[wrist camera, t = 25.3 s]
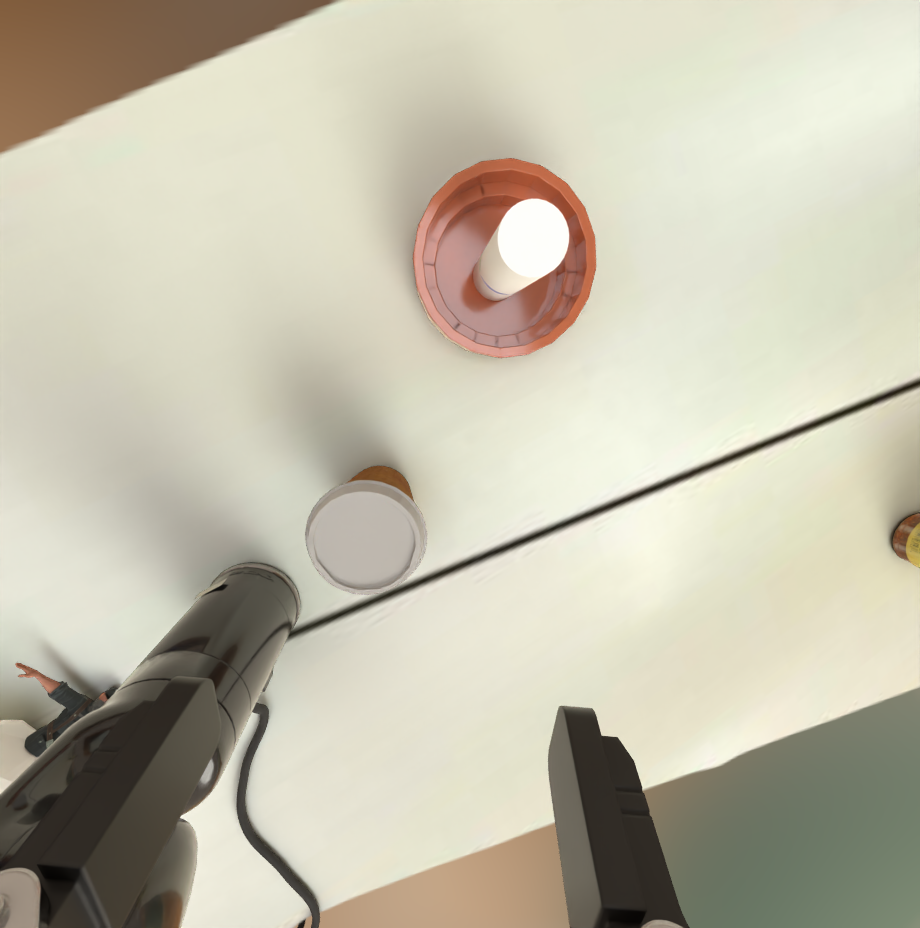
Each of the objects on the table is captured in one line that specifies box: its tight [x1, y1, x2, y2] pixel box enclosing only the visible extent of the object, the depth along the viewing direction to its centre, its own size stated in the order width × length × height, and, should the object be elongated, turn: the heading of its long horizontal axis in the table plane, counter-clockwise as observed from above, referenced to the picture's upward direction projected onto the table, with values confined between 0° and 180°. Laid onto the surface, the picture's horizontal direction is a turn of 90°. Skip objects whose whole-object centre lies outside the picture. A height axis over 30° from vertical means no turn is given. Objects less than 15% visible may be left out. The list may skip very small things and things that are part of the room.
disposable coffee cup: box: [305, 466, 427, 595], centre depth 41 cm, size 10×10×12 cm
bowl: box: [413, 158, 596, 358], centre depth 40 cm, size 15×15×6 cm
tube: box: [473, 199, 569, 301], centre depth 35 cm, size 4×4×15 cm
